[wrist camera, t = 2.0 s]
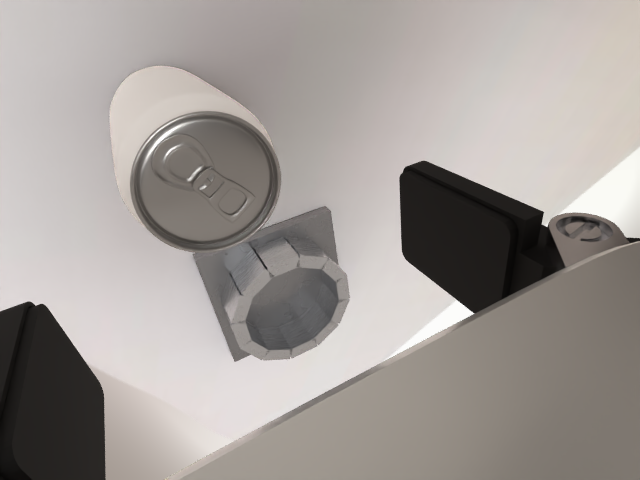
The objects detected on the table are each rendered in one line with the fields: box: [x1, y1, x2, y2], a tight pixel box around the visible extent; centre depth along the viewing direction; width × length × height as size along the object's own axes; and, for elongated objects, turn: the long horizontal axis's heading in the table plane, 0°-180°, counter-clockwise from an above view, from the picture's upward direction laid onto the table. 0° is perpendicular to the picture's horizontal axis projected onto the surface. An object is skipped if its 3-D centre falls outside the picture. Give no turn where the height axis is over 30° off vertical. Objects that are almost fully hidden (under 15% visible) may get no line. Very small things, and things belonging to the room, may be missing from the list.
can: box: [109, 66, 281, 253], centre depth 20 cm, size 6×6×12 cm
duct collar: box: [193, 207, 350, 362], centre depth 32 cm, size 11×11×4 cm
